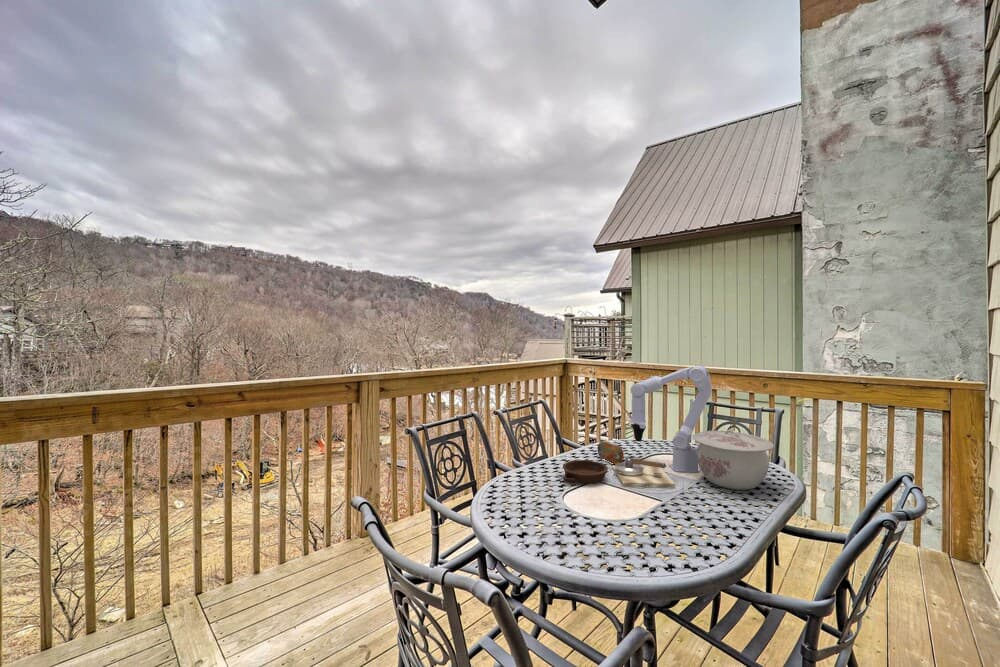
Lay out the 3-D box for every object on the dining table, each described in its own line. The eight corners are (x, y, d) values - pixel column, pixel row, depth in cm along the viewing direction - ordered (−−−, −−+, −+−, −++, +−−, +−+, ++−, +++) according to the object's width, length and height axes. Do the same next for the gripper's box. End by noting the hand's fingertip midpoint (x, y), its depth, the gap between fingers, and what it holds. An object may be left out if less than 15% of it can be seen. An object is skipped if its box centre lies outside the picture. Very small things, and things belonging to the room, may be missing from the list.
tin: (597, 457, 197) (597, 439, 197) (602, 456, 199) (602, 438, 198) (619, 467, 184) (619, 447, 183) (625, 466, 185) (625, 447, 185)
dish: (619, 477, 172) (619, 465, 172) (586, 492, 157) (586, 479, 157) (584, 467, 185) (584, 455, 185) (549, 480, 170) (549, 467, 170)
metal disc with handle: (612, 473, 171) (612, 460, 171) (617, 465, 181) (617, 452, 181) (664, 481, 163) (664, 467, 163) (667, 472, 172) (667, 459, 172)
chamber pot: (771, 504, 146) (771, 443, 146) (684, 486, 162) (685, 431, 162) (776, 479, 169) (776, 427, 168) (700, 466, 185) (700, 418, 184)
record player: (658, 469, 181) (658, 465, 181) (674, 487, 161) (674, 483, 161) (612, 469, 182) (612, 465, 182) (623, 486, 162) (623, 482, 162)
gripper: (625, 406, 197) (625, 436, 198) (633, 413, 183) (633, 445, 183) (641, 407, 197) (640, 436, 197) (650, 413, 182) (650, 445, 183)
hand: (638, 440), depth 190 cm, fingers closed
